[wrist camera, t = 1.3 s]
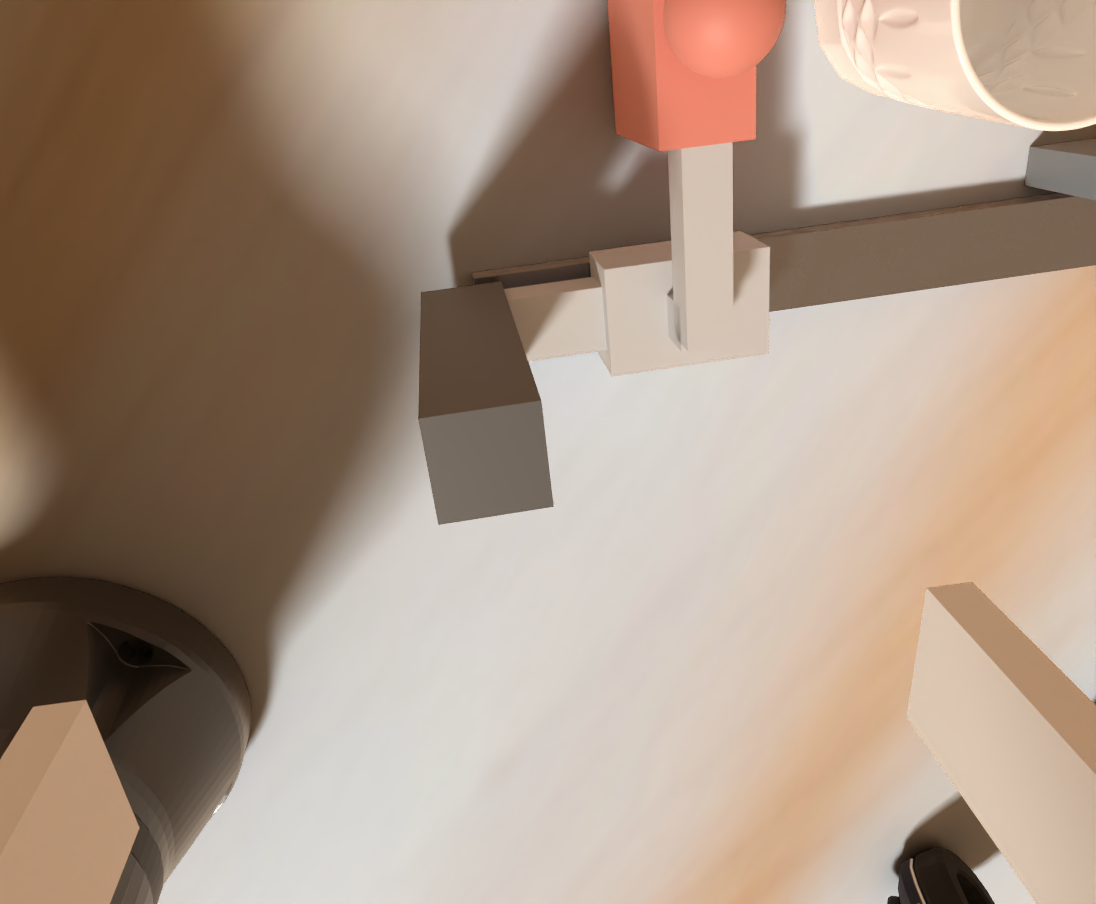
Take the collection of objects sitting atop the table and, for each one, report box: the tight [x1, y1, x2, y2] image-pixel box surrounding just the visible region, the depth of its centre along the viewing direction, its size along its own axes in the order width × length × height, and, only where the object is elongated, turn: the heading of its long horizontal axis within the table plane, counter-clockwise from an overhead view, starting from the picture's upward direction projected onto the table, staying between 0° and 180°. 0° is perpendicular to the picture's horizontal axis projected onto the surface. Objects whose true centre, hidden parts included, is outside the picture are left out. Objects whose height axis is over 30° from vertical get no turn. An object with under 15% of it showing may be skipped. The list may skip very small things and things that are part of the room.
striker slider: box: [418, 0, 786, 525], centre depth 25 cm, size 12×15×14 cm
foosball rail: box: [472, 193, 1096, 312], centre depth 34 cm, size 30×3×1 cm, turn 96°
